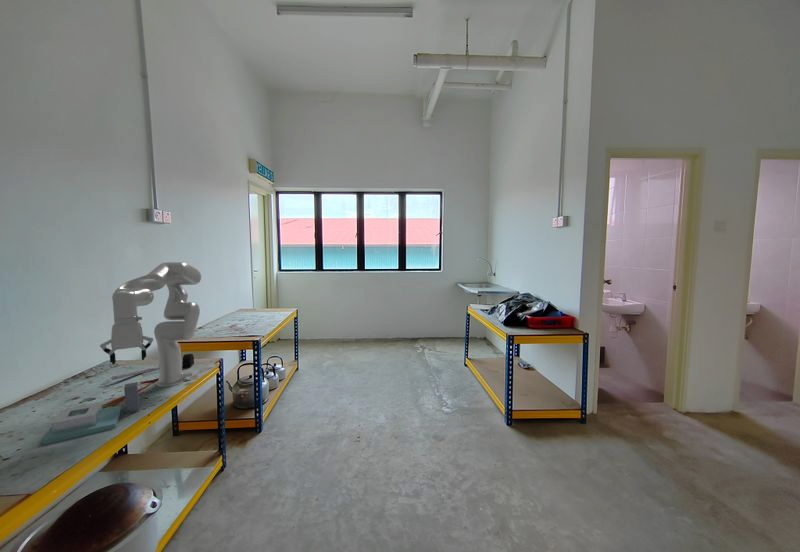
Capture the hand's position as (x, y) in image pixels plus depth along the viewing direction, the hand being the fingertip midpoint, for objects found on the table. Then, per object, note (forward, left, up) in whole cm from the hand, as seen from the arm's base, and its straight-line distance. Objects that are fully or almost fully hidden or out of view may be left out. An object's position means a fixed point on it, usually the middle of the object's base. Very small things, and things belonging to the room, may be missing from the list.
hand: (128, 361), depth 142 cm
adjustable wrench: (+12, -39, -22) cm, 46 cm away
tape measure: (-22, -52, -23) cm, 61 cm away
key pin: (0, 0, -22) cm, 22 cm away
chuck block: (+14, +4, -22) cm, 26 cm away
